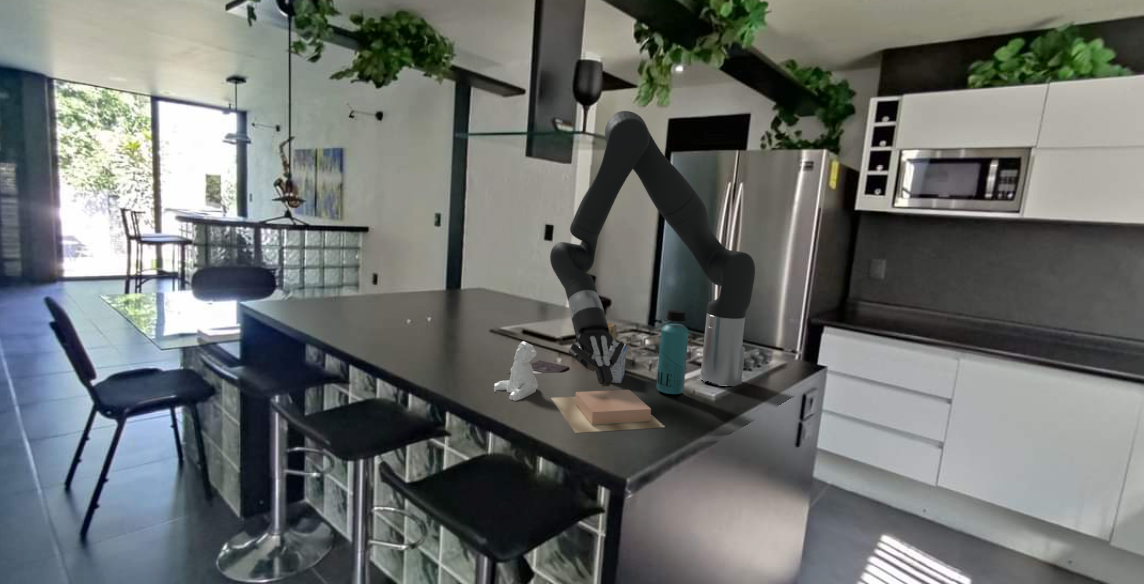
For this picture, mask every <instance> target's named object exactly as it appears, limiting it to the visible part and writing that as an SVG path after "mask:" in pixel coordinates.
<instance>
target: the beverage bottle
mask: <svg viewBox="0 0 1144 584" xmlns="http://www.w3.org/2000/svg"><path fill="white" fill-rule="evenodd" d="M666 320H667V321H672V322H682V323H683V322H686V311H684V310H680V309H668V311H667V316H666ZM689 333H690V331H689V329H688V328H687V327H686V325H683V324H680V323H666V324H664V325H663V326H662V327H661V329H660V338H659V339H660V341H659V346H658V347H659V349H658V362H657V369H656V370H657V372H656V377H655V378H656V379H655V383H656V385H655V386H656V390H657V391H659V392H661V393H664V394H667V395H668V394H669V395H680V394H682V393H683V391H684V389H685V384H686V383H685V380H686V369H687V365H686V364H687V355H688V342H689Z"/></svg>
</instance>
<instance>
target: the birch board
mask: <svg viewBox="0 0 1144 584" xmlns="http://www.w3.org/2000/svg"><path fill="white" fill-rule="evenodd" d="M550 399H551V400H552V402H553V403H554V405H555V406H556V407H557V409H558V410H559V411H560V413H561V415H562V416H563V417H564V419H565V420H566V422H567V423H568V425H569V426H570V428H571V429H572V430H573V432H574V433H575V434H580V433H581V434H583V433H595V432H596V433H597V432H609V431H610V432H612V431H627V430H639V429H640V430H641V429H654V428H655V429H656V428H658V429H659V428H666V426H665V425H663V423H662V422H661V421H659V420H658V419H657V418H656V417H655V416H654V415H652V414H651V415H650V421H645V422H629V423H613V424H597V425H593V424H591V423H590V421H589V420H588V419H587V418H586V416H585V415H584V414H583V413H582V411H581V410H580V409H579V408H578V406H577V405H576V404H575V396H559V397H551V398H550Z"/></svg>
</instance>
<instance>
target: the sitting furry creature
mask: <svg viewBox="0 0 1144 584" xmlns="http://www.w3.org/2000/svg"><path fill="white" fill-rule="evenodd" d="M515 351H516V352H515V355H514V357H513V364H512V367H511V368H510V373H511V374H509V376H510V377H509V380H507V379H506V380H499V381H498V382H495V383H493V387H494V388H493V392H494V393H497V391H506V393H510V394H509V396H508V399H509V400H511V401H514V402H515V401H520V400H523V399H524V398H527V397H529V396H530V395H532V394H535V393H536V391H537V389H538V386H539V383H538V381H537V378H536V376H535V373H533V369H532V366H531V364H532V363H530V362H531V361H532V360H533V359H534V358H535V357H536V356H537V350H536V349H535V348H534V346H533V345H532V344H530V343H528V342H526V341H524V340H523V341H521V342H520V343H519V344H518V346H517V348H516V350H515Z"/></svg>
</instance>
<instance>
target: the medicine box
mask: <svg viewBox="0 0 1144 584" xmlns="http://www.w3.org/2000/svg"><path fill="white" fill-rule="evenodd" d="M608 352H609V360H610V358H611V356H612V354H613V352H612V346H611V347H610V349H609V351H608ZM626 356H627V344H626V343H624V347H623V349H622V351H621V353H620V355H619V357H618V360H617V362H616V363H615V364H614V366H613V367H612V368H610V370H611V373H612V377H613V381H612V382H611V383H615V384H622V381H623V379H624V377H625V369H626V368H625V367H626Z"/></svg>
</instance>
